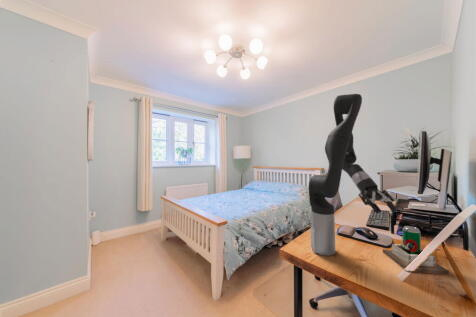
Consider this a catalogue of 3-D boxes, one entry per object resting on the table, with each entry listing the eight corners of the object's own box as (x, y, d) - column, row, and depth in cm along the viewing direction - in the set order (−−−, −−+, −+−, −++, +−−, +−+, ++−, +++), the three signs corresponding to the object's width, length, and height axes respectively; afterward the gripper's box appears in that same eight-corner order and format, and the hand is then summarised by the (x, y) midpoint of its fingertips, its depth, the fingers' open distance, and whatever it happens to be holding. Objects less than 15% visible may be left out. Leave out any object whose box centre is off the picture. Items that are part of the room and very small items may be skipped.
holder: (406, 271, 63) (406, 258, 63) (382, 252, 76) (382, 241, 76) (449, 274, 61) (449, 260, 61) (417, 254, 74) (417, 242, 74)
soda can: (424, 263, 66) (424, 231, 66) (408, 261, 67) (408, 230, 67) (414, 255, 71) (413, 225, 71) (399, 254, 72) (399, 225, 72)
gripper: (356, 178, 85) (379, 208, 73) (380, 177, 87) (407, 206, 76) (347, 187, 90) (368, 217, 79) (370, 186, 93) (394, 214, 81)
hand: (387, 211), depth 77 cm, fingers open, 8 cm apart
